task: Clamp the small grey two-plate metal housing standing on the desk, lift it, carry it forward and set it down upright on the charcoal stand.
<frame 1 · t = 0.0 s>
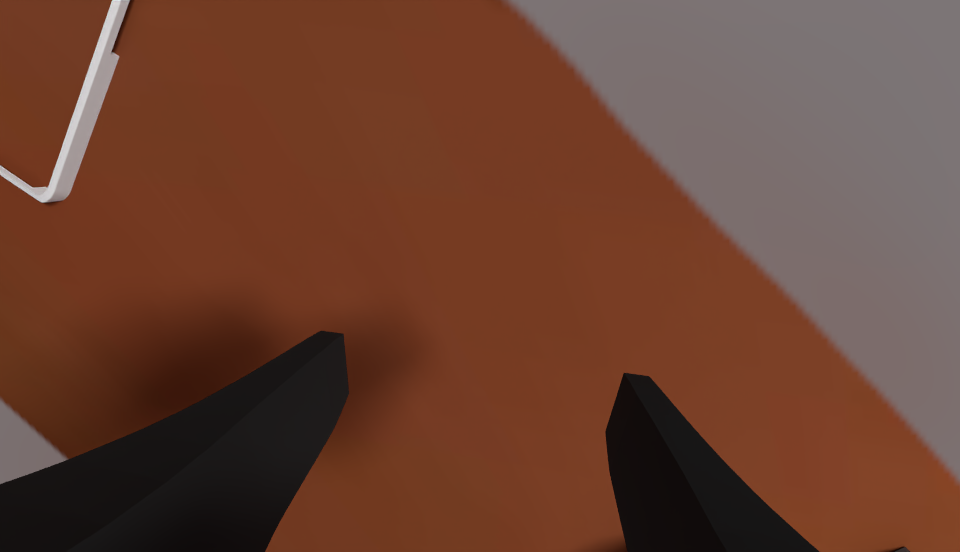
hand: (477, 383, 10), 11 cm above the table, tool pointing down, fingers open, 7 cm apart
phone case: (57, 39, 20), on the table
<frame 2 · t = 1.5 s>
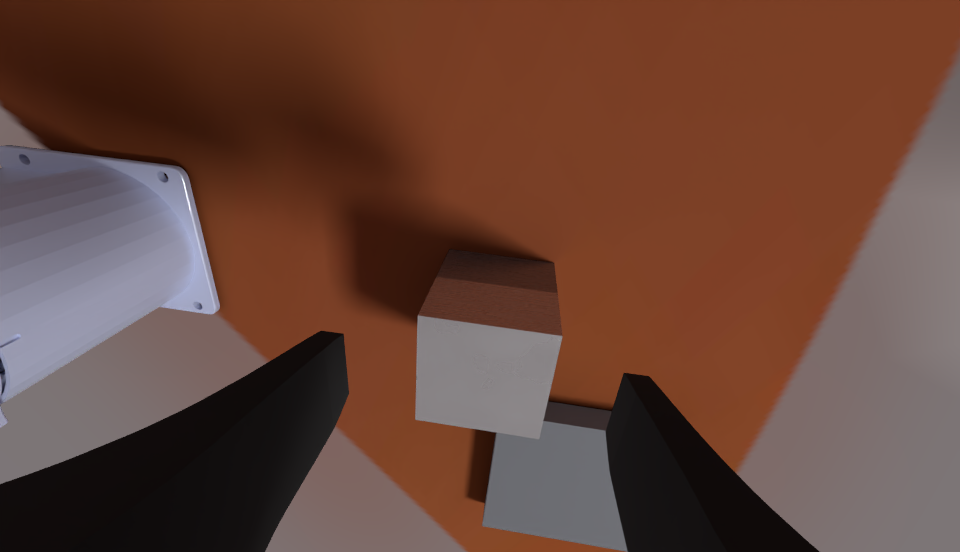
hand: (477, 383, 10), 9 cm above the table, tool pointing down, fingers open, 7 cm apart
stand: (572, 467, 25), on the table
housing: (495, 300, 20), on the table
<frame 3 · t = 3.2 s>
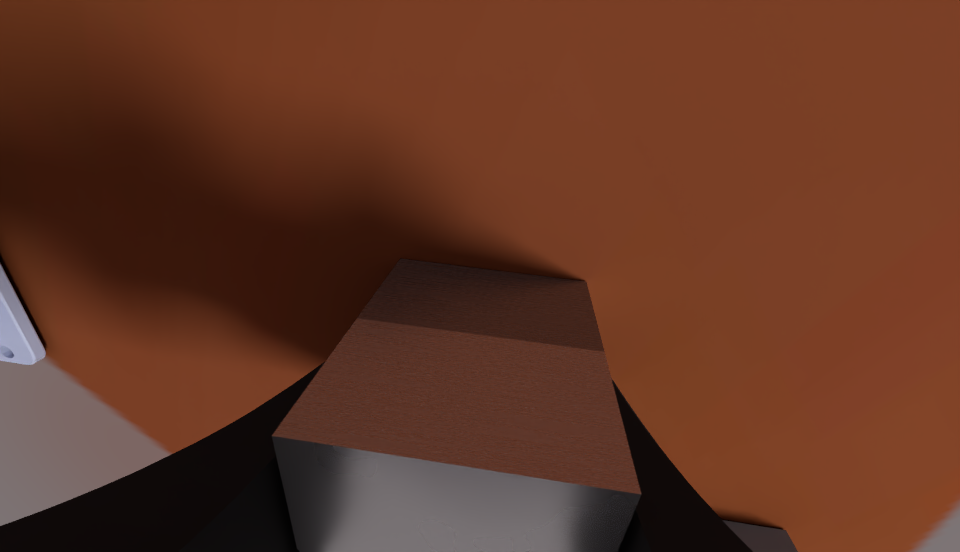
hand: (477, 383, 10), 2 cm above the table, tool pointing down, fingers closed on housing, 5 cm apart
housing: (483, 345, 12), on the table, touching gripper
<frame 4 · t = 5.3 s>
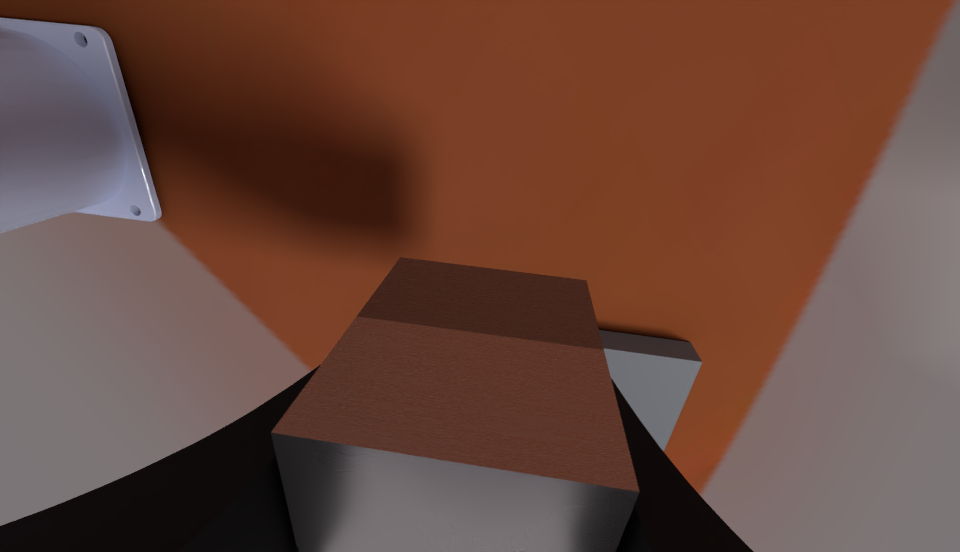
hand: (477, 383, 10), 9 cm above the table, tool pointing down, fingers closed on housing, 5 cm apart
stand: (567, 403, 22), on the table
housing: (484, 344, 12), point 7 cm above the table, touching gripper
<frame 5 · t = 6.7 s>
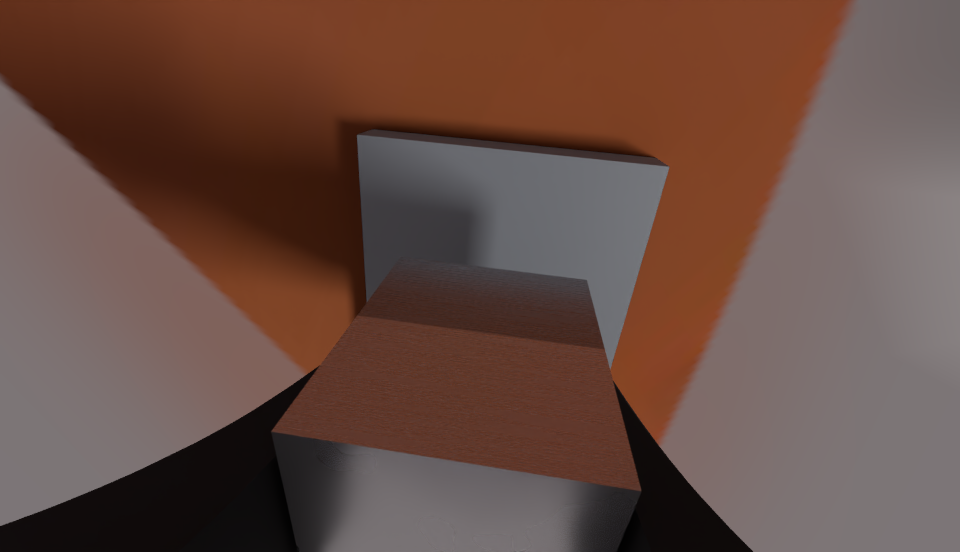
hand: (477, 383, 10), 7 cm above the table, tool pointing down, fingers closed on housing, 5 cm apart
stand: (497, 270, 16), on the table
housing: (484, 344, 12), point 5 cm above the table, touching gripper
when the fingers open (5 cm above the table, at t = 7.6 s): housing drops 2 cm, resting on stand.
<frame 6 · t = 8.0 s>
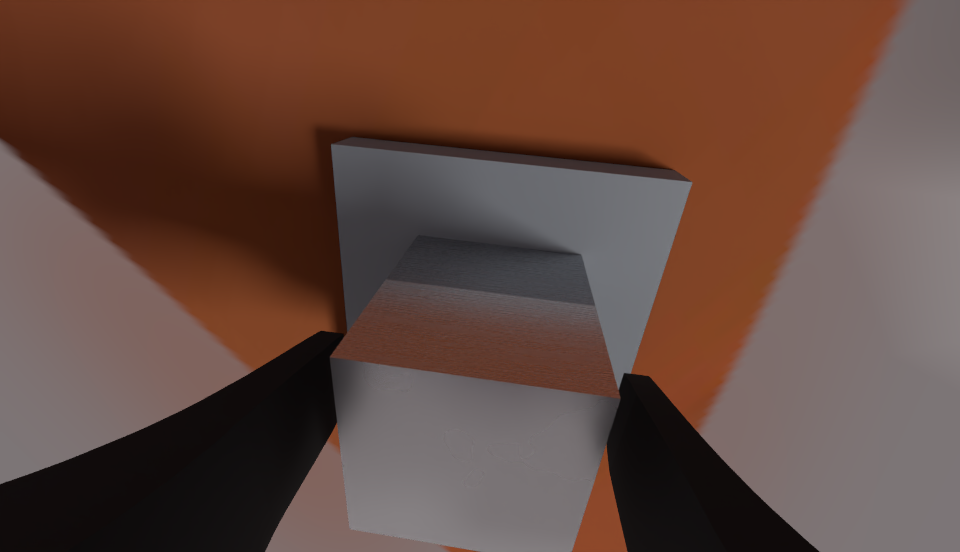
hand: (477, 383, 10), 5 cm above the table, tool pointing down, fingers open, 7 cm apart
stand: (493, 293, 15), on the table
housing: (490, 314, 13), point 1 cm above the table, touching stand
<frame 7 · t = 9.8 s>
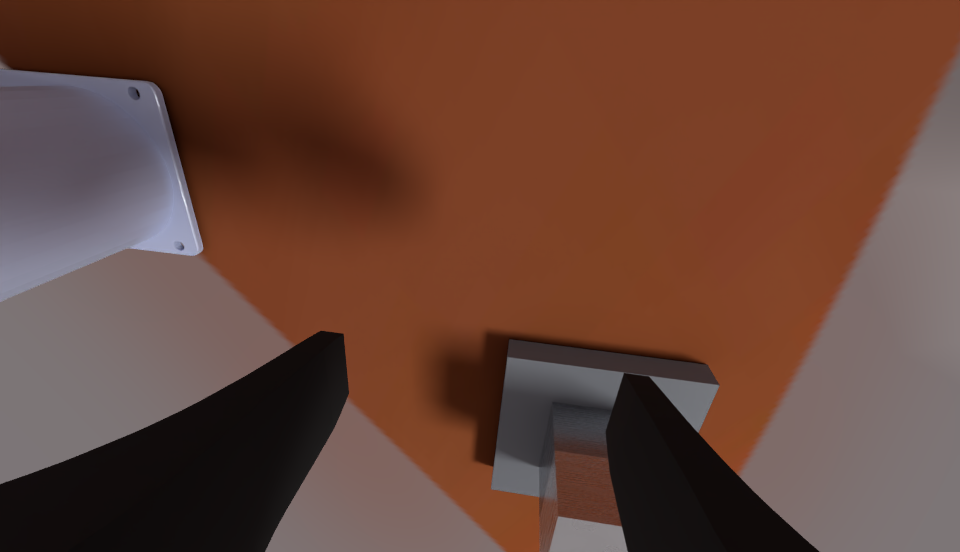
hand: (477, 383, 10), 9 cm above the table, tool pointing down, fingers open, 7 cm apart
stand: (587, 422, 23), on the table
housing: (592, 443, 21), point 1 cm above the table, touching stand
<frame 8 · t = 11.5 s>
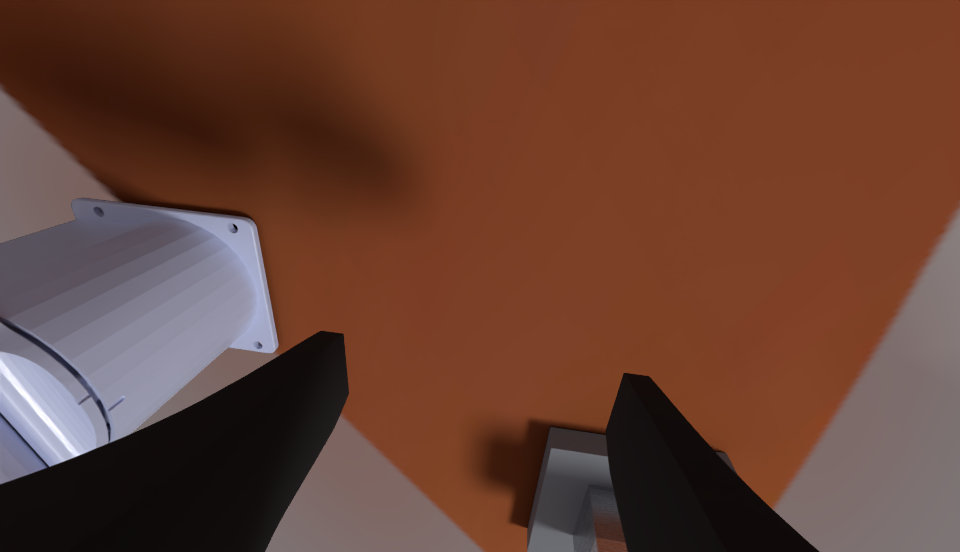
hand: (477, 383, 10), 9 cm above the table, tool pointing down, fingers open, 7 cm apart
stand: (616, 494, 25), on the table
housing: (622, 517, 24), point 1 cm above the table, touching stand
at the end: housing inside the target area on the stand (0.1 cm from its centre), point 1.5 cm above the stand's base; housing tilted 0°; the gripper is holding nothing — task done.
